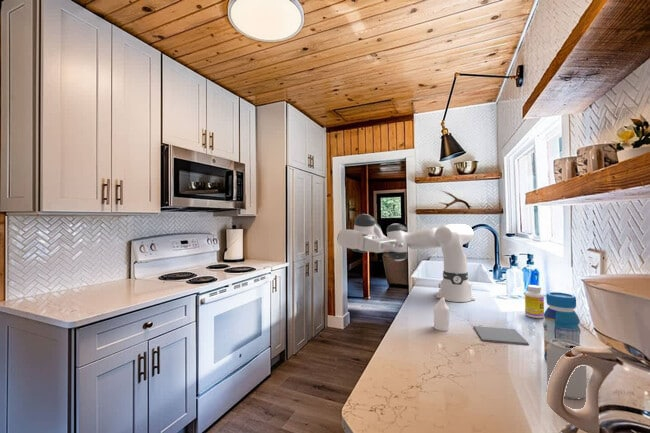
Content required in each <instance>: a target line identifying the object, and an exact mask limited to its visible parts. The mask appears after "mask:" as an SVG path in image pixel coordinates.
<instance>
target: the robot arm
mask: <svg viewBox="0 0 650 433" xmlns="http://www.w3.org/2000/svg"><path fill="white" fill-rule="evenodd" d="M353 223H354V224H353V225H354V226H353V229H340V230H339V232H338V234H337V237H336V238H337V244H338V245H339V246H341V247H343V248H346V249H350V250H351V251H353V252H356V253H362V254H365V253H368V252H369V253H376V254H379V253H380V254H381V253H384V252H386V256H388V257H389V258H390V259H391V260H392V261H395V262H402V261H404V260H407V259H408V258H409V257H408V256H409V251H408V250H409V249H411V250H428V249H429V250H430V249H436V248H441V251H442V257H443V271H442V278H443V279H442V280H441V281H440V283H438V291H437V294H436V299H439V300H440V299H441V298H443V297H444V299H445V301H449V302H454V303H455V302H456V303H467V302H468V303H469V302H470V301H476V297H475V296H473V294H472V293H473V291H472V283H471V282H470V281H469V272H468V262H467V261H468V260H467V255H466V254H465V253H464V250H463V246H462V245H466V244H468V243H470V242H471V241H472V240H473V239H474V235H475V232H474V230H473V229H472V227H471V226H469V225H467V224H464V223H449V224H447V223H446V224H444V225H441V226H439V227H431V228H424V229H421V230H420V229H419V230H415V231H412V232H408V231H409V229H408V228H407V227H405V225H403V224H401V223H392V224H390V225H388V226H387V228H386V234H387V236H386V235H385V234H384V233H383V231H382V228H381V225H380V224H378V222H377V221H376V219H375V218H374V217H373V216H372V215H370V214H366V213H359V214H358V215H356V216H355V218H354V222H353ZM408 248H409V249H408Z"/></svg>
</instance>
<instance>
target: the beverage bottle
mask: <svg viewBox="0 0 650 433" xmlns="http://www.w3.org/2000/svg"><path fill="white" fill-rule="evenodd" d="M546 304H547V306H548V307H547V308H546V309H545V310H544V317H543V318H544V321H543V326H542V327H543V341H544V342H543V343H544V344H543V346H544V347H543V348H544V351H543V352H544V355H543V356H544V357H543V358H544V361H545V362H546V363H547V345H548V344H549V343H551V342H550V340H551V339H565V340H570V341H573V342H576V343H578V344H580V343H581V340H580V338H581V328H580V326H579V324H580V323H581V322H580V317H579V315H578V314H577V313H576V311H575V309H576V307H577V297H576V296H575V295H574V294H571V293H566V292H557V291H556V292H555V291H551V292H547V293H546ZM580 345H581V344H580Z"/></svg>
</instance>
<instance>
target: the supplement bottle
mask: <svg viewBox="0 0 650 433" xmlns="http://www.w3.org/2000/svg"><path fill="white" fill-rule="evenodd" d="M541 290H542V287H541V286H540V285H535V284H528V285H527V290H526V291H525V293H524V301H525V302H524V307H525V308H524V312H525V313H524V314H525V316H527V317H529V318H532V319H542V318H544V313H545V295H544V293H543V292H541Z"/></svg>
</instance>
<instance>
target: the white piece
mask: <svg viewBox="0 0 650 433" xmlns="http://www.w3.org/2000/svg"><path fill="white" fill-rule="evenodd" d="M433 328H434V329H435V330H437V331H441V332H442V331H443V332H446V331H448V330H450V308H449V306H448V305H447V303H446V300H445V299H444V297H443V298H441V299H440V298H439V300H438V301H437V303H436V304H435V306H434V308H433Z"/></svg>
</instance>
